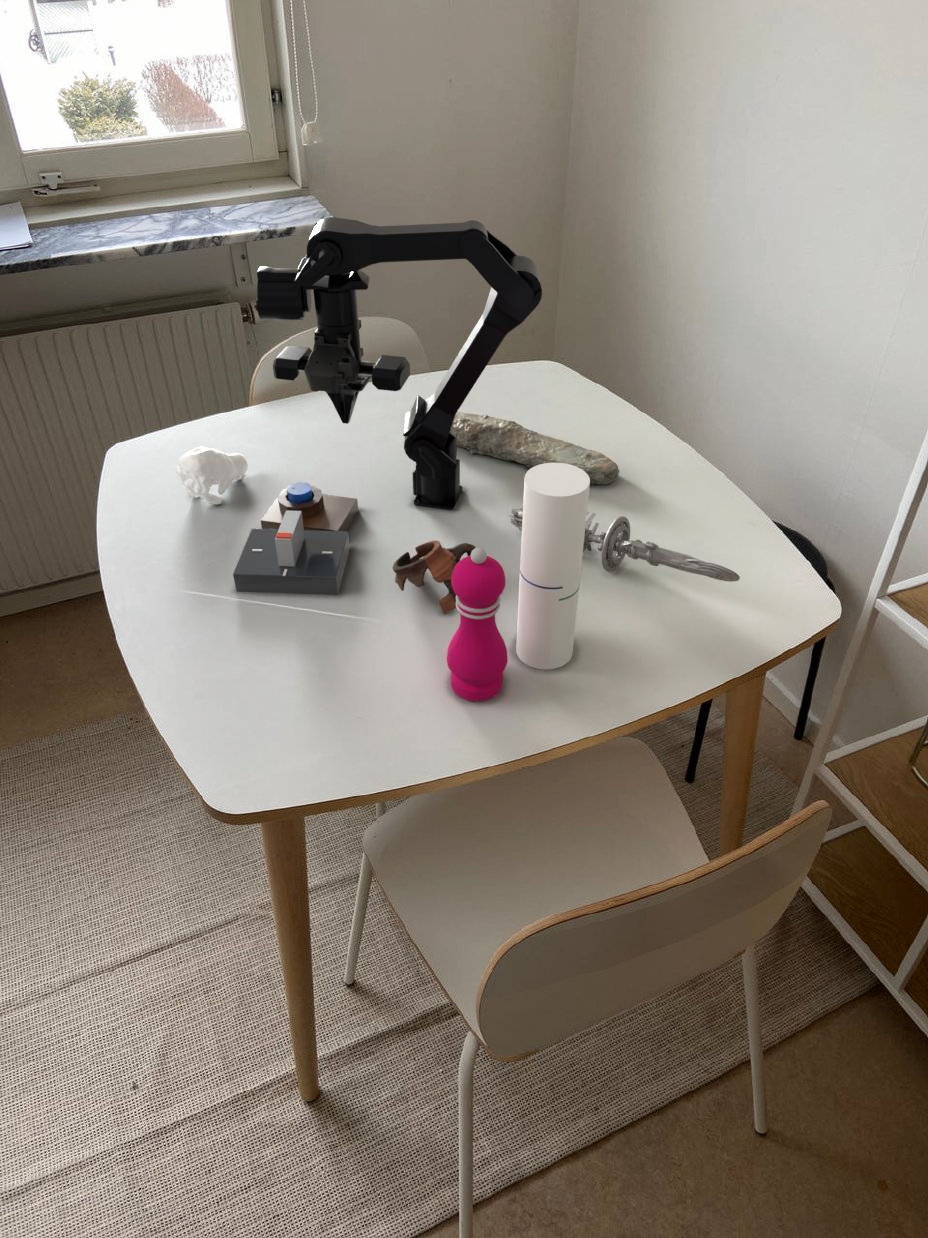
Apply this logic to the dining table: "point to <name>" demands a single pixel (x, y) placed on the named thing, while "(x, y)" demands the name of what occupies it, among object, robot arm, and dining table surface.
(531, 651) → the cylindrical container
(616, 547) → the silver sword
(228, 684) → the dining table surface
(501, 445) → the elongated rock
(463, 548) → the broken clay pot shards
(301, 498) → the button
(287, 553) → the rotary switch knob
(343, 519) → the button block
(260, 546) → the rotary switch base
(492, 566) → the pepper mill
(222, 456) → the white animal figurine
